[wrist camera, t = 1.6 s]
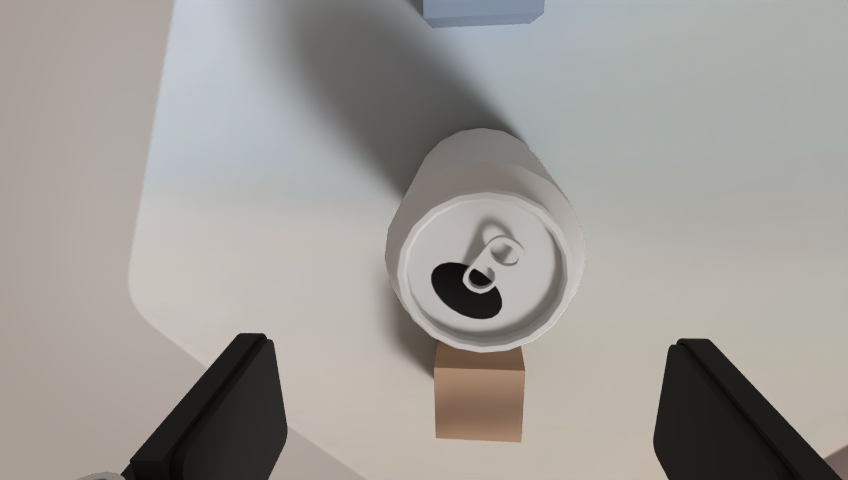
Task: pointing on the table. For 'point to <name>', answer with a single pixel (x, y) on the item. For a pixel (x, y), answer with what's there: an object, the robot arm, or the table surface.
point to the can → (484, 244)
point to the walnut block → (478, 394)
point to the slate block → (480, 12)
